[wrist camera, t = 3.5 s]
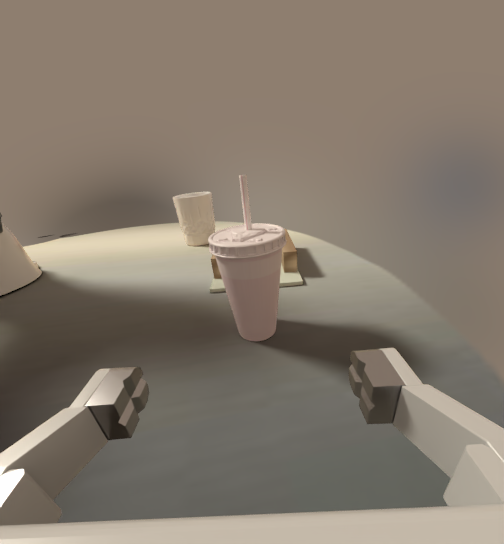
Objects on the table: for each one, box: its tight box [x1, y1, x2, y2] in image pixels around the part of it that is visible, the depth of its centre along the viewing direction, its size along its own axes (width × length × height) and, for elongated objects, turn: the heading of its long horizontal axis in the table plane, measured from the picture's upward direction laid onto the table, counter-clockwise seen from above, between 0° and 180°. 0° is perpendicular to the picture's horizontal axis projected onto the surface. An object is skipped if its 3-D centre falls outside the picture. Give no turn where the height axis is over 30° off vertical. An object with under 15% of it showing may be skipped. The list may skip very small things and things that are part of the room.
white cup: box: [173, 192, 215, 246], centre depth 51 cm, size 8×8×10 cm
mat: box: [210, 263, 303, 293], centre depth 38 cm, size 12×16×1 cm
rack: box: [211, 229, 297, 279], centre depth 38 cm, size 12×12×3 cm
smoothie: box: [208, 175, 287, 341], centre depth 20 cm, size 6×6×14 cm
